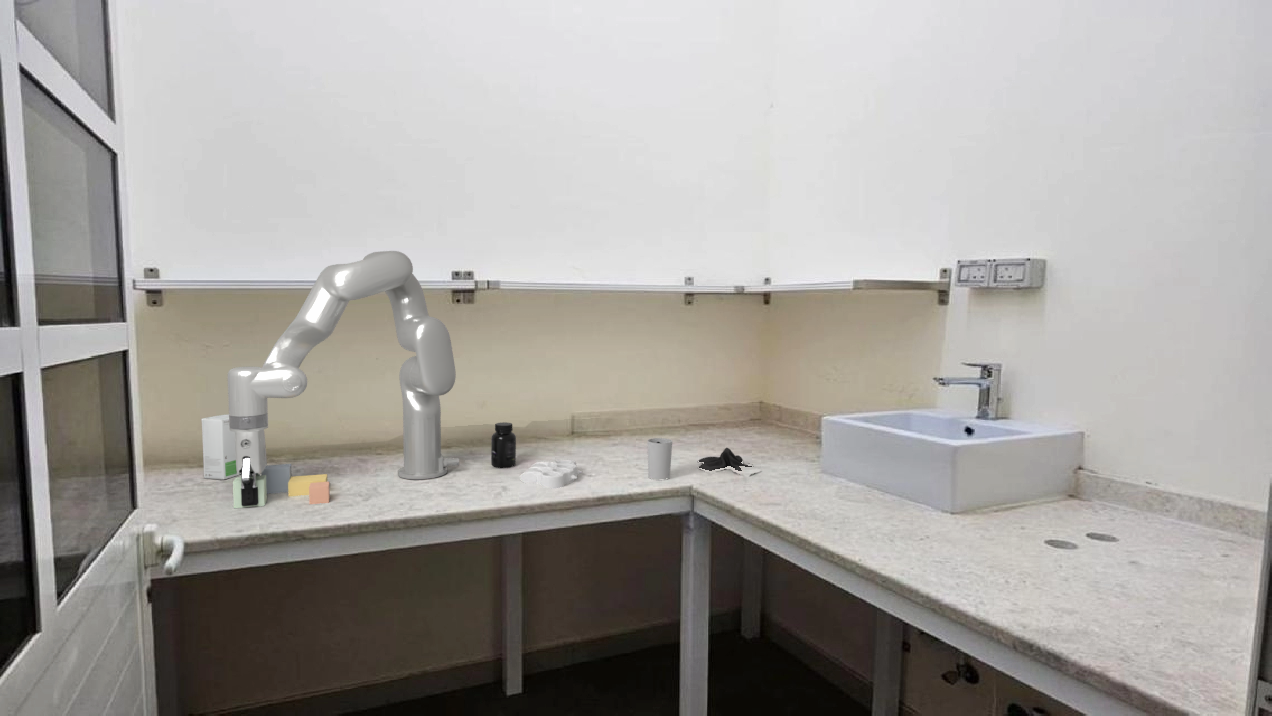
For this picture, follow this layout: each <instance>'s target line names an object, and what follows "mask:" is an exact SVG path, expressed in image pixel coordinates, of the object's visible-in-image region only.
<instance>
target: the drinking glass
mask: <svg viewBox="0 0 1272 716" xmlns="http://www.w3.org/2000/svg"><path fill="white" fill-rule="evenodd" d="M672 450H673V440H672V439H669V438H662V437H654V438H649V439H647V471H648V473H647V474H648V479H650V478H652V479H666V478H669V477H670V478H671V465H672ZM670 478H669V479H670ZM652 479H651V480H652Z"/></svg>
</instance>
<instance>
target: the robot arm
mask: <svg viewBox="0 0 1272 716" xmlns="http://www.w3.org/2000/svg"><path fill="white" fill-rule="evenodd" d="M413 270H414V267H413V263H412V260H411V259H410V258H409V257H408V255H406V254H405V253H403V252H401V251H399V250H383V251H374V252H371V253H368V254H367V255H365V256H364V258H363V259H362V260H357V261H353V262H348V263H338V264H331V265H328V266H326V267H325V268H324V269H323V270H322V271H321V272H320V274H319V275H318V277H317V278H316V281H315V282H314V284H313V286H312V287H311V289H310V292H309V293H308V295H307V297H306V299H305V300H304V303H303V304H302V305H301V307H300V310H299V312H298V313H297V315H296V316H295V318H294V319H293V320H292V321H291V323H289V325H288V327H287V328H286V330H284V332H283V333H282V334H281V335H280V336H279V338H278V339H277V341H276V342H275V343H274V345H273V347H272V349H271V350H270V352H269V354H268V355H267V357H266V359H265V361H264V363H263V365H262V367H260V366H239V367H237V366H236V367H234V368H231V369H229V370H228V371H227V396H228V397H227V398H228V400H227V401H228V415H229V429H230V431H234V432H235V452H236V470H237V474H238V475H237V476H238V477H241V503H242V506H251V505H257V504H258V487H256V476H261V473H262V472H263V471H264V469H265V467H266V465H268V462H267V461H268V459H267V449H266V448H267V447H266V434H265V430H266V429H268V428H269V413H268V398H270V399H271V398H273V399H294V398H296V397H298V396H300V395H302V394H303V393H304V391H305V390H306V388H307V386H308V377H307V375H306V374H305V372H304V371H303V370H302V369H301V368H300V366H301V365H302V363H303V362H304V360H305V358H306V356H308V354H309V353H310V352H311V351H312V349H314V348H315V347H316V346H318V345H319V344H320V343H323V342H324V341H326V340H327V339H328V338H329V337H330V336H331V335H332V334H333V333H334V331H335V329H336V327H337V325H338V323H339V322H340V319H341V318H342V316H343V314H344V312H345V310H346V308H347V307H348V304H349V303H350V301H356V300H360V299H365V298H368V297H371V296H374V295H377V294H380V293H383V292H385V294H386V296H387V297H388V299H389V303H390V305H391V310H392V314H393V315H392V317H393V321H394V327H395V332H396V337H397V338H396V339H397V341H398V343H399V345H400V346H401V348H403V349H404V350H406V351H408V352H412V353H415V355H414V356H412V357H409V358H407V359H406V360H405V361H403V363H402V364H401V367H400V369H399V386H400V390H401V398H402V415H403V416H402V422H403V423H402V425H403V426H402V428H403V441H402V442H403V466H402V467H400V468H399V469H398V470H397V476H398V477H400V478H401V479H407V480H427V479H428V480H429V479H435V478H439V477H441V476H444V475H446V474H447V473H448V468H447V467H448V466H459V465H460V459H459V457H455V458H454V457H444V456H443V454H442V437H441V435H442V434H441V432H442V431H441V430H442V426H441V422H442V421H441V415H442V411H441V410H442V409H441V408H442V407H441V399H440V396H444V395H446V394H448V393H449V392H451V390H452V389H453V387H454V385H455V384H456V378H457V377H456V363H455V359H454V358H455V357H454V352H453V347H452V342H451V335H450V333H449V330H448V328H447V327H446V325H445V323H444V322H443V321H441V320H440V319H439V318H437V317H434V316H430V315H429V312H428V311H429V310H428V306H427V302H426V297H425V293H424V290H423V287H422V286H421V283H420V281H419V280H418V279H417V277H416V276H415V275H414V274H413V272H414V271H413ZM250 477H253V479H252V478H250Z"/></svg>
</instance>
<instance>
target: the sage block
mask: <svg viewBox="0 0 1272 716" xmlns="http://www.w3.org/2000/svg"><path fill="white" fill-rule="evenodd" d="M250 478H252V479H253V477H250ZM256 487H258V504H257V505H251V506H242V503H241V476H238V477H237V476H235V478H234V480H233V481H232V489H233V490H232V492H233V493H232V495H233V496H232V497H233V509H242V508H243V509H244V508H253V507H254V508H255V507H263V506H264V507H265V506H266V503H267V501H268V497H267V496H268V494H267V489H266V475H261V474H260V476H256Z"/></svg>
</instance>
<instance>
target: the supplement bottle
mask: <svg viewBox="0 0 1272 716" xmlns="http://www.w3.org/2000/svg"><path fill="white" fill-rule="evenodd" d="M513 430H514V429H513V423H511V422H506V421H505V422H504V421H503V422H496V423H495V425H494V431H495V432H494V433H493V434H492V435H491V439H490V440H491V443H490V445H491V446H490V449H491V451H490V452H491V453H490V456H491V458H490V460H491V461H490V464H491V466H492V467H493V468H496V469H510V468H513V467H515V465H516V463H517V462H516V461H517V455H516V454H517V435H516V434H515V433H514V432H513Z"/></svg>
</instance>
